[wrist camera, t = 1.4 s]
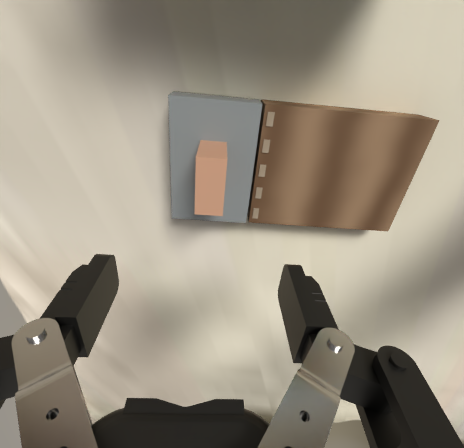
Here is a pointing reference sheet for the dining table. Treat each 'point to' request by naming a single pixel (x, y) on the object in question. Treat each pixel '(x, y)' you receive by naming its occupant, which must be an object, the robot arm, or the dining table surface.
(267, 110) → the board
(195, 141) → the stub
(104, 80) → the dining table surface
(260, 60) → the dining table surface
